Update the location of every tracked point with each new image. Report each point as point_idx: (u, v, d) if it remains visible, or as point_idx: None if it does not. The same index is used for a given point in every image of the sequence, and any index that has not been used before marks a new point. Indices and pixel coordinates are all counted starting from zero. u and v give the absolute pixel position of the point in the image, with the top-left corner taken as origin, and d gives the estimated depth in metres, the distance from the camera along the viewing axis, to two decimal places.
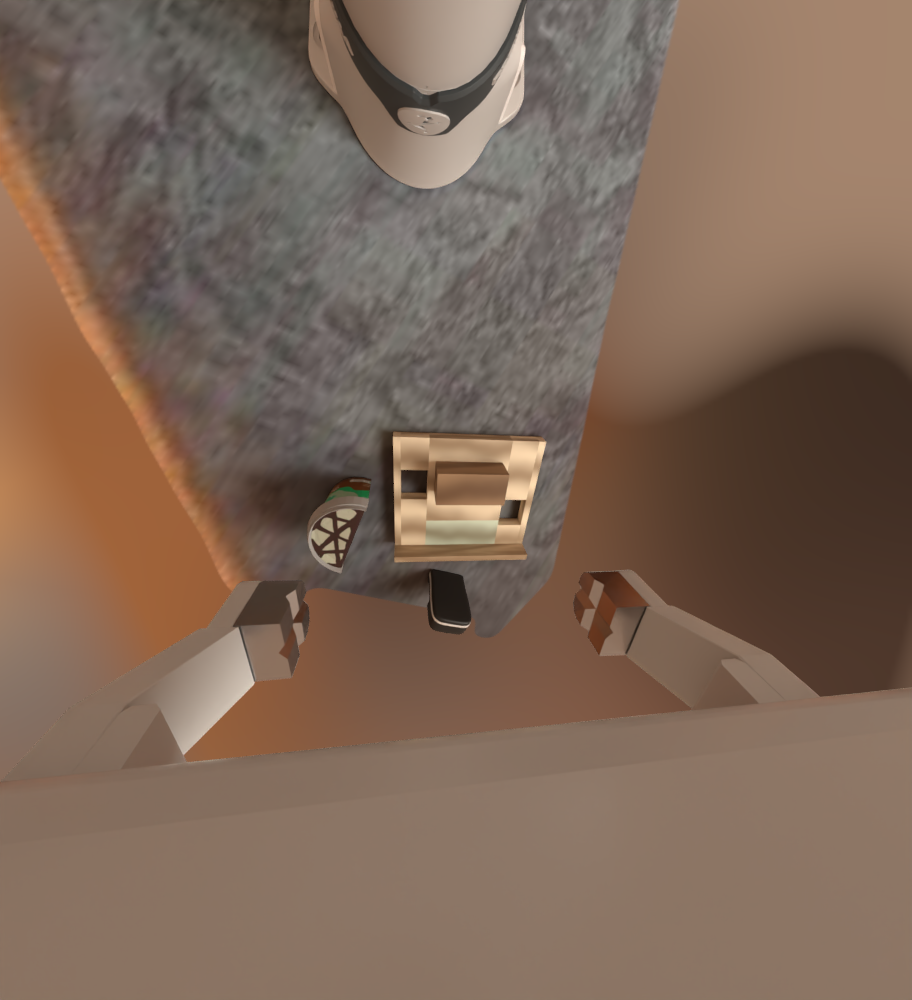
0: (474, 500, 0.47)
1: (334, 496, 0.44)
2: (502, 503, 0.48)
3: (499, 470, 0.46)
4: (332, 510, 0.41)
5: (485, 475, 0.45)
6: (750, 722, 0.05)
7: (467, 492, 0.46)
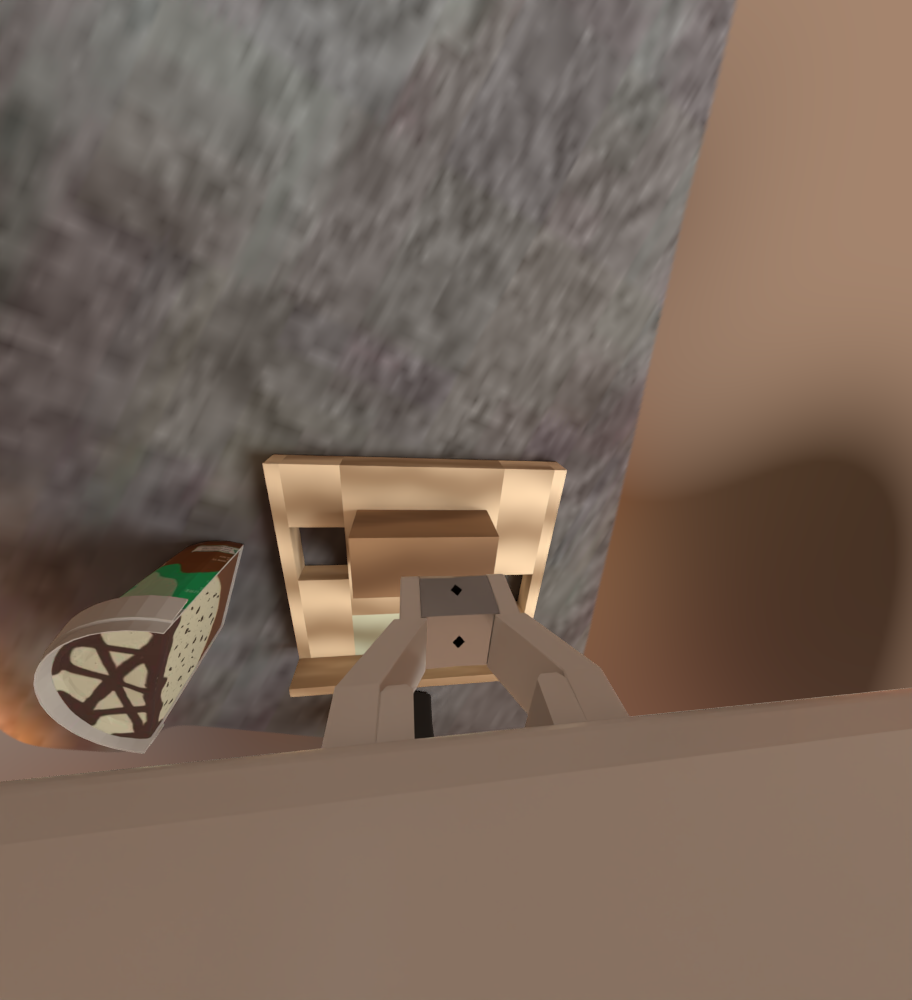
0: None
1: (132, 588, 0.21)
2: None
3: (478, 527, 0.23)
4: (78, 635, 0.17)
5: (450, 539, 0.22)
6: (750, 722, 0.05)
7: (415, 573, 0.23)
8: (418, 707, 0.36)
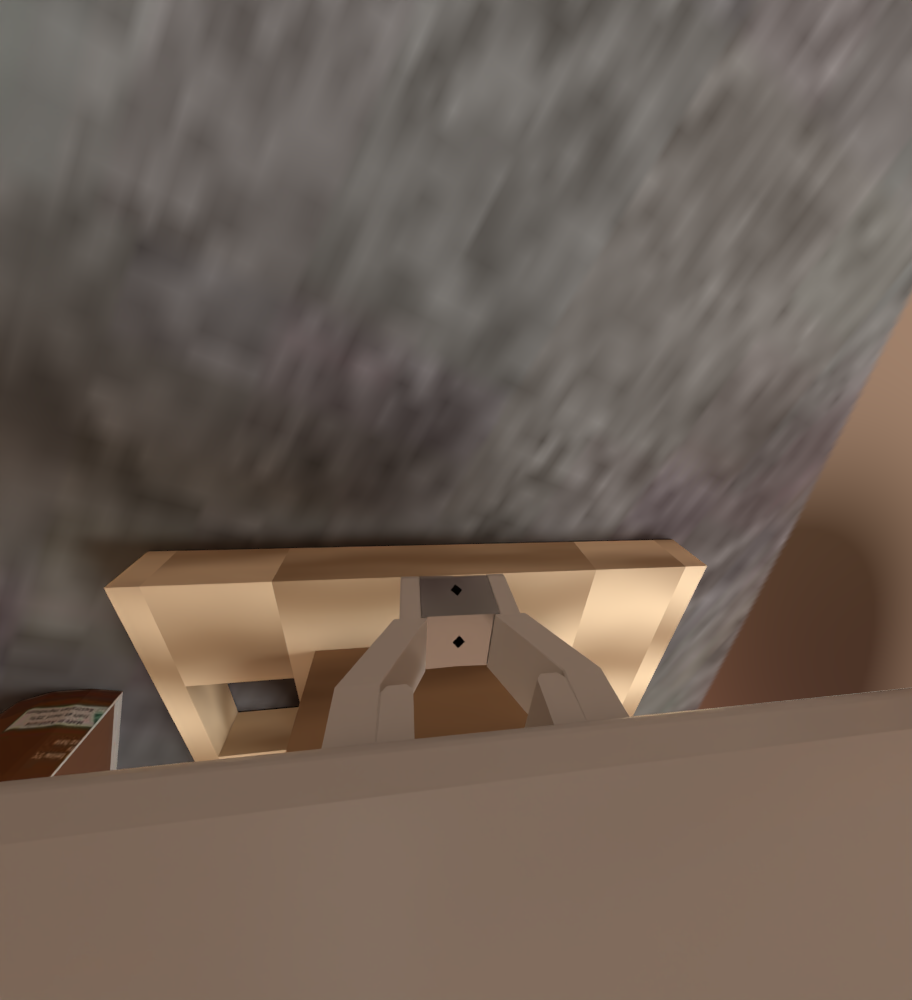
0: None
1: None
2: None
3: None
4: None
5: None
6: (750, 722, 0.05)
7: None
8: None
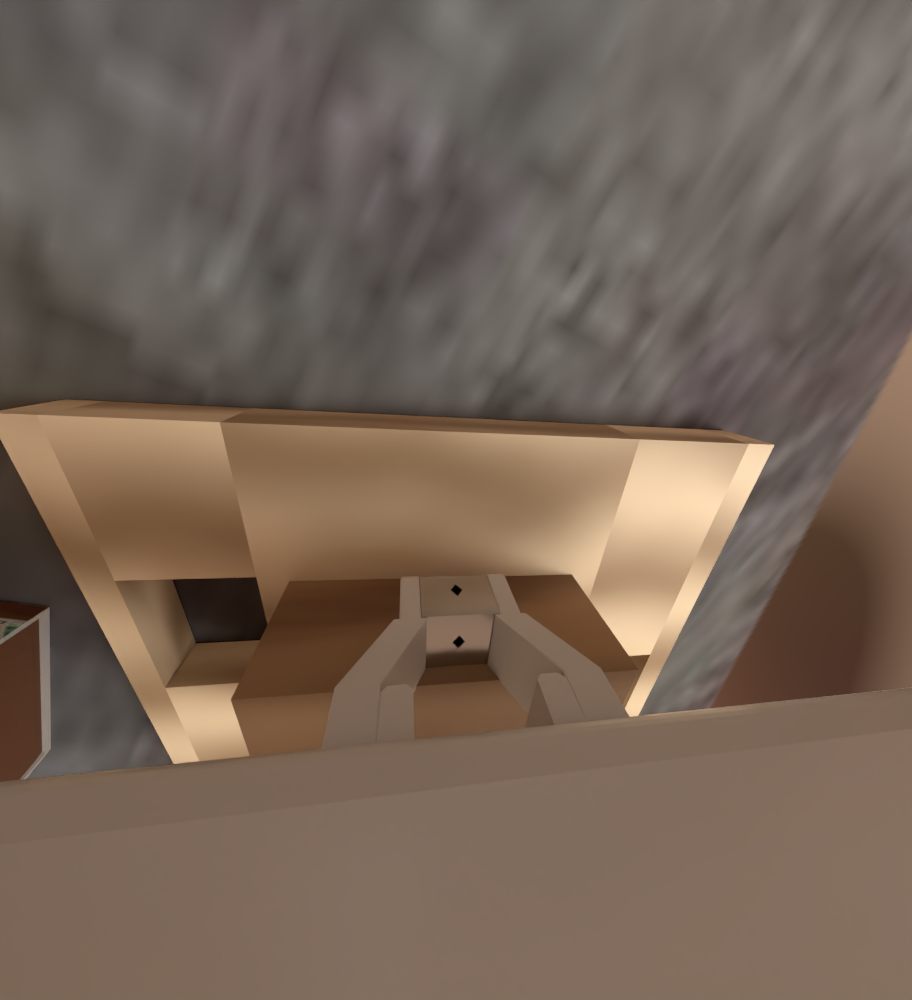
0: None
1: None
2: None
3: (575, 635, 0.10)
4: None
5: None
6: (750, 722, 0.05)
7: None
8: None
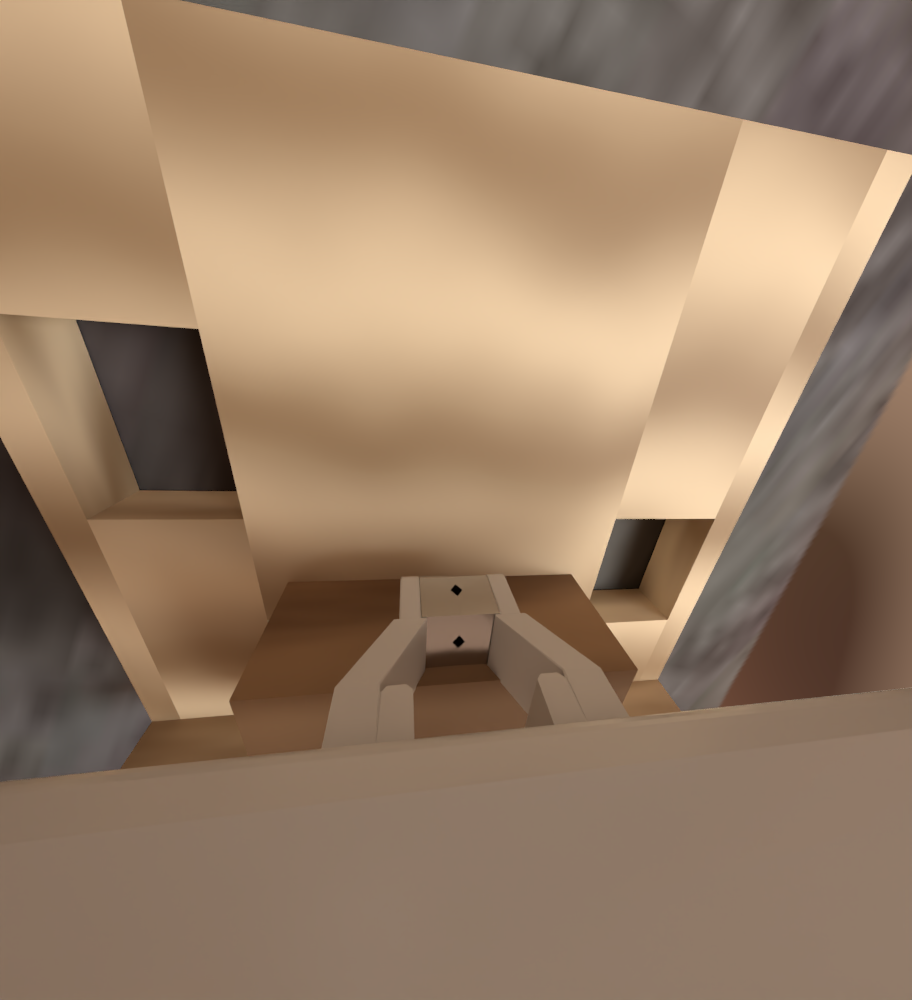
0: None
1: None
2: None
3: (575, 635, 0.10)
4: None
5: None
6: (750, 722, 0.05)
7: None
8: None
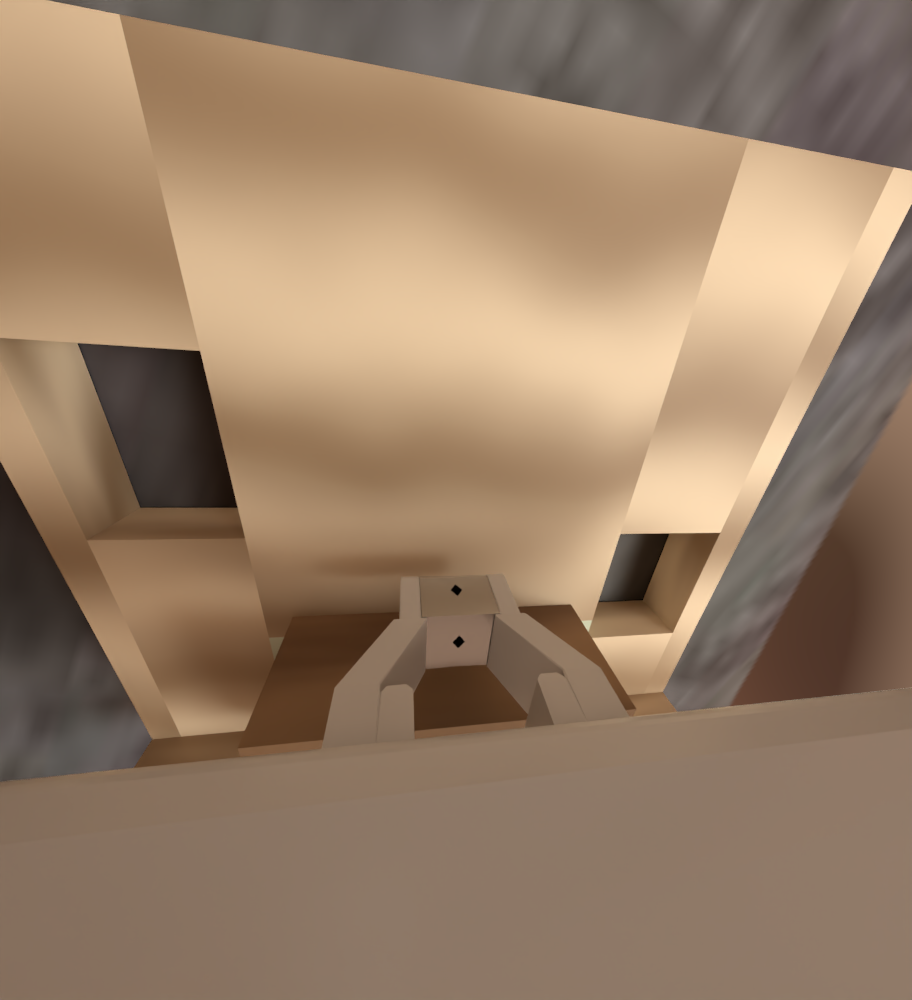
0: None
1: None
2: None
3: None
4: None
5: (516, 725, 0.08)
6: (750, 722, 0.05)
7: None
8: None
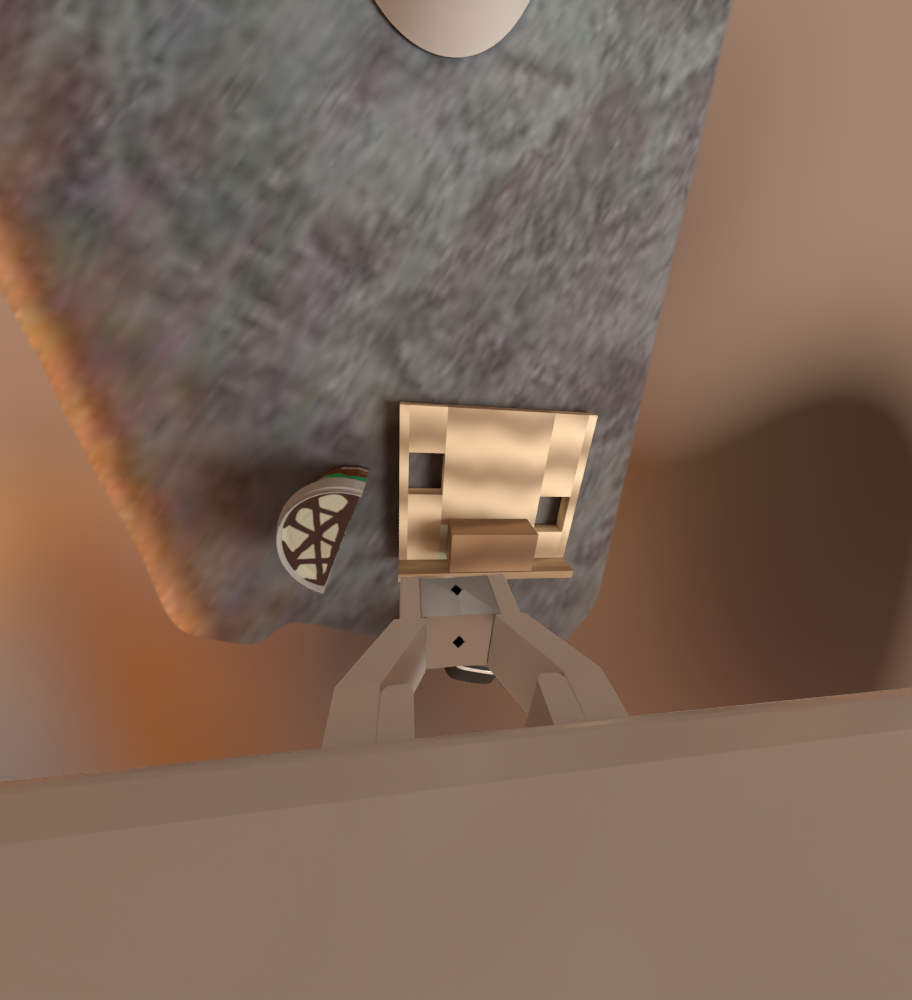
0: (496, 566, 0.39)
1: None
2: (529, 568, 0.39)
3: (525, 529, 0.38)
4: (312, 495, 0.28)
5: (510, 536, 0.37)
6: (750, 722, 0.05)
7: (487, 556, 0.38)
8: None
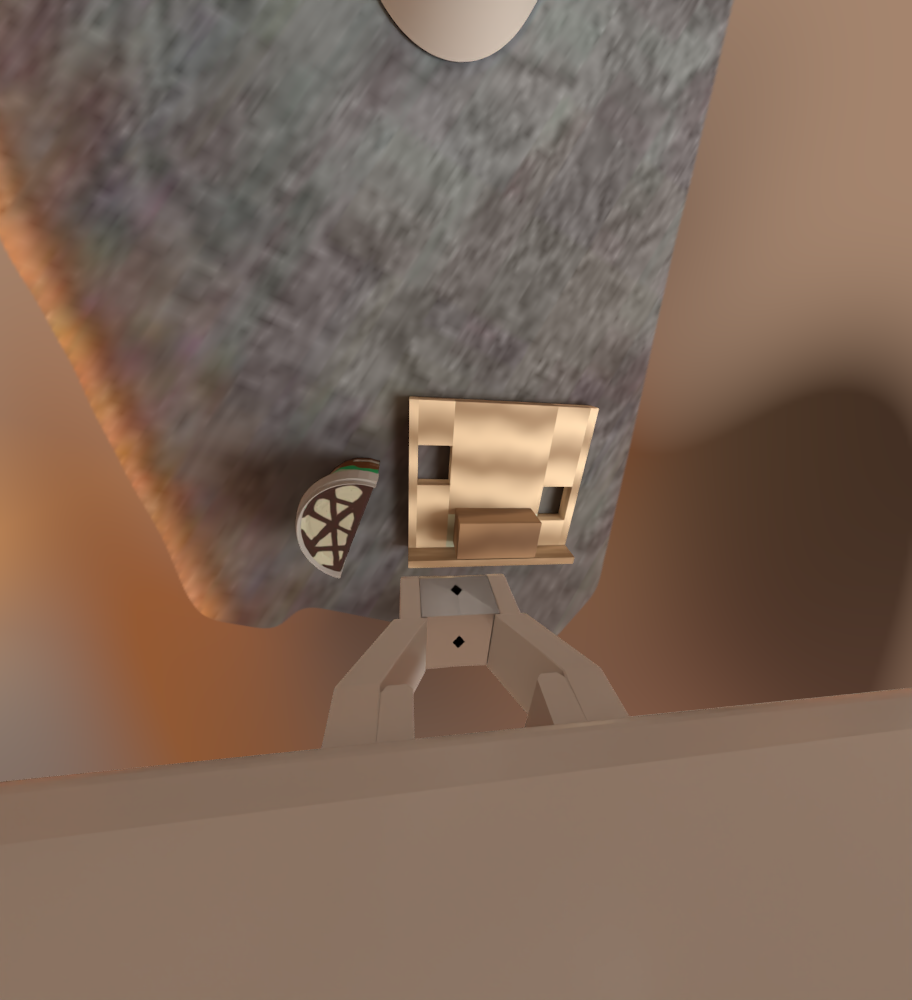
0: (501, 553, 0.41)
1: None
2: (533, 555, 0.41)
3: (528, 518, 0.40)
4: (330, 486, 0.30)
5: (514, 524, 0.39)
6: (750, 722, 0.05)
7: (493, 544, 0.40)
8: None
